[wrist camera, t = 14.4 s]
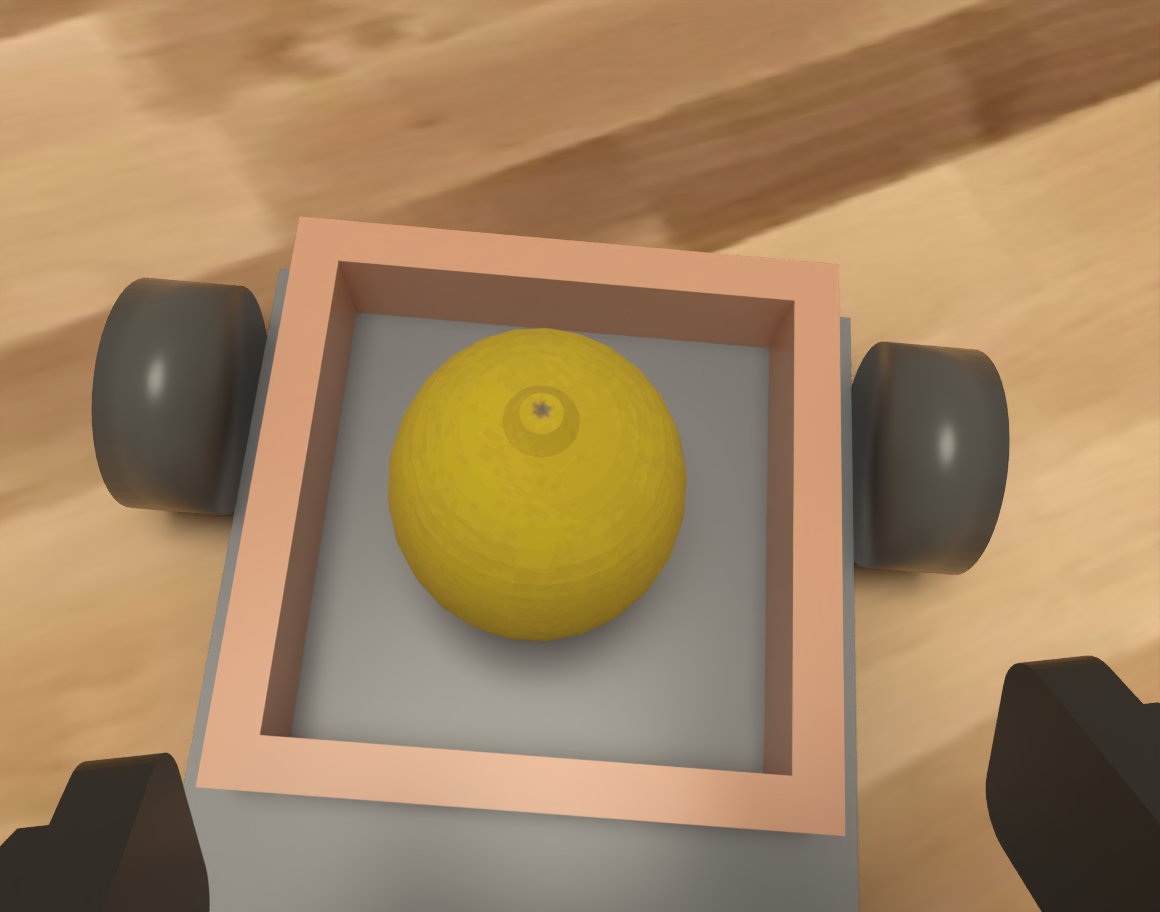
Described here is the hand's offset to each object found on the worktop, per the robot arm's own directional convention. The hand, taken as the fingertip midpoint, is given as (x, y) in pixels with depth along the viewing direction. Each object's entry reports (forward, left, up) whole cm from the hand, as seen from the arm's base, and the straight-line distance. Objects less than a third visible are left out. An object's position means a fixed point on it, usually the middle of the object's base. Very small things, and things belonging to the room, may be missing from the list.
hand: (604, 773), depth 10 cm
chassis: (-1, 0, -13) cm, 13 cm away
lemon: (-1, +5, -12) cm, 13 cm away
